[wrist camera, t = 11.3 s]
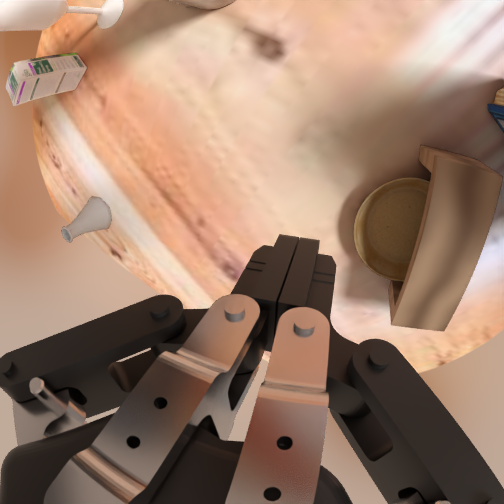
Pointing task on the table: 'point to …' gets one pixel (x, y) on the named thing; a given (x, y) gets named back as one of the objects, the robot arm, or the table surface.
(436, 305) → the walnut shelf
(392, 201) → the plant saucer
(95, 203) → the flask
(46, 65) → the syrup box
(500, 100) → the book
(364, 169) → the table surface
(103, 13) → the champagne flute
